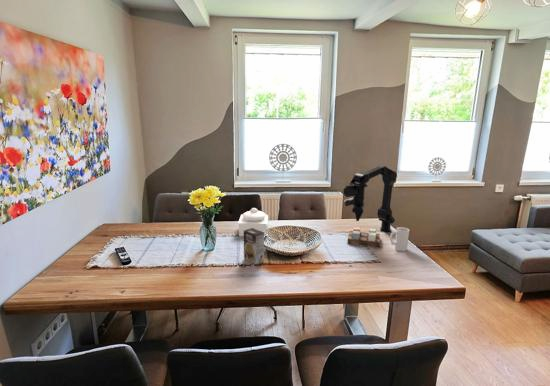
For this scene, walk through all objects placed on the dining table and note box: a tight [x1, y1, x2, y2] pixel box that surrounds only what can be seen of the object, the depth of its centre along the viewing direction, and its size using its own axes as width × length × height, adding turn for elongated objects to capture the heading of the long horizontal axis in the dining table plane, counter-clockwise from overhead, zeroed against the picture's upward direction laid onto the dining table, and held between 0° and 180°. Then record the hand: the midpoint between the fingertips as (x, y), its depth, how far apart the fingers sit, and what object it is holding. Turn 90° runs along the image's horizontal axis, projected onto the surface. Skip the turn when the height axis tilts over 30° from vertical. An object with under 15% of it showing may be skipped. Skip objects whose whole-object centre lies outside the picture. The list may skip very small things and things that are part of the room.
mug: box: [389, 226, 410, 252], centre depth 185 cm, size 10×7×12 cm, turn 89°
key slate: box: [352, 230, 361, 240], centre depth 194 cm, size 4×4×4 cm
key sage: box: [368, 228, 377, 235], centre depth 198 cm, size 4×4×4 cm
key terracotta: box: [352, 226, 361, 232], centre depth 201 cm, size 4×4×4 cm
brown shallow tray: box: [346, 230, 381, 248], centre depth 197 cm, size 14×18×3 cm
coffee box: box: [243, 228, 265, 265], centre depth 171 cm, size 9×6×16 cm
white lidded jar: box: [237, 207, 269, 237], centre depth 211 cm, size 18×18×16 cm
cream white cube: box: [368, 232, 377, 242], centre depth 192 cm, size 4×4×4 cm
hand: (357, 219), depth 199 cm, fingers open, 5 cm apart
